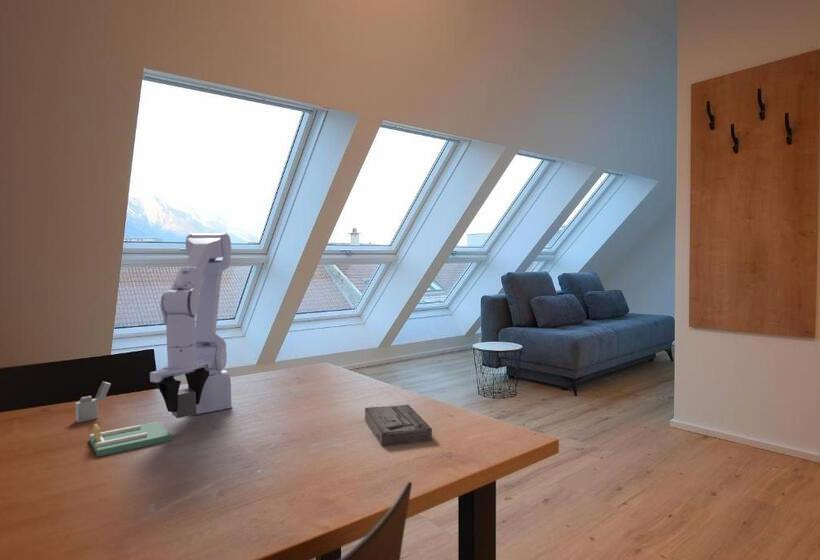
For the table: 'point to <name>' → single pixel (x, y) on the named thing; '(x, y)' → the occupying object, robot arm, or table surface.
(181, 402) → the plug
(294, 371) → the table surface
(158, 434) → the header board
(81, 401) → the lighter
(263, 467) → the table surface
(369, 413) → the box
